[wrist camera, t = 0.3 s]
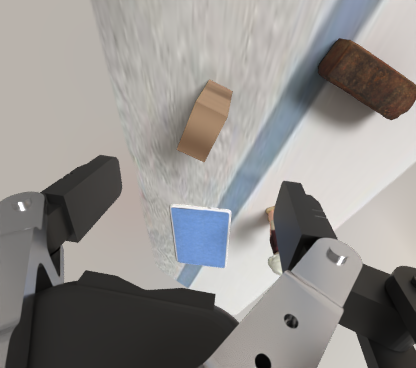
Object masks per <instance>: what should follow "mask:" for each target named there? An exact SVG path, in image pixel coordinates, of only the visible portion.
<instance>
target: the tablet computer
mask: <svg viewBox="0 0 416 368" xmlns="http://www.w3.org/2000/svg"><path fill="white" fill-rule="evenodd" d="M170 213H171V221H172V229H173V237H174V244H175V251H176V259H177V261H178V262H180V263H187V264H195V265H203V266H211V267H219V268H225V267H226V265H227V255H228V245H229V234H230V223H231V211H230V210H228V209H219V208H209V207H200V206H190V205H180V204H171V205H170Z"/></svg>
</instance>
